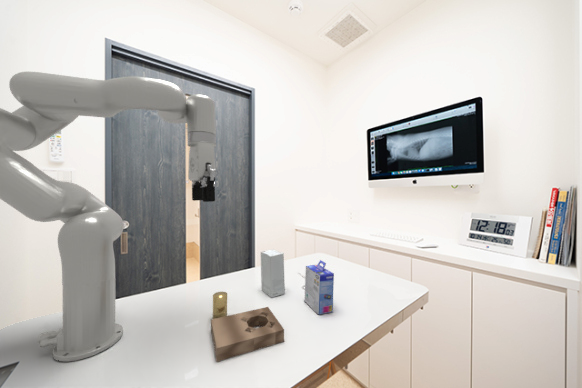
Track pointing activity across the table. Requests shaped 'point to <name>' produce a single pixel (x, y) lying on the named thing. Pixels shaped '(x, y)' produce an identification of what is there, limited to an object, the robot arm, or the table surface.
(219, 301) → the brass cylinder
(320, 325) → the table surface
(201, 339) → the table surface
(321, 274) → the ink cartridge box
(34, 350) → the table surface
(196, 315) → the table surface
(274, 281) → the skincare box
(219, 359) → the jig
